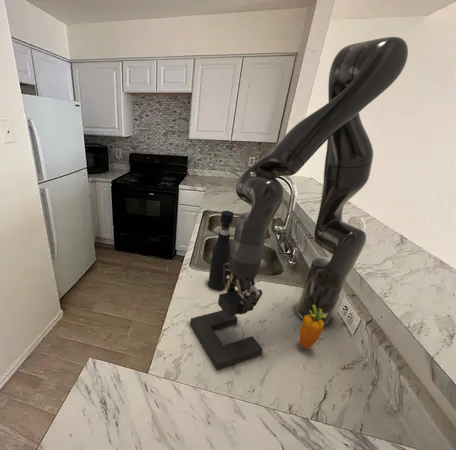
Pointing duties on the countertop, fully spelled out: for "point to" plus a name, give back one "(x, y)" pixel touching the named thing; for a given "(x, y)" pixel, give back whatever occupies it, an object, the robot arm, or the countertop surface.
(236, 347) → the base mat
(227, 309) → the connector pad
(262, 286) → the countertop surface
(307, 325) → the carrot
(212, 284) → the wine bottle
